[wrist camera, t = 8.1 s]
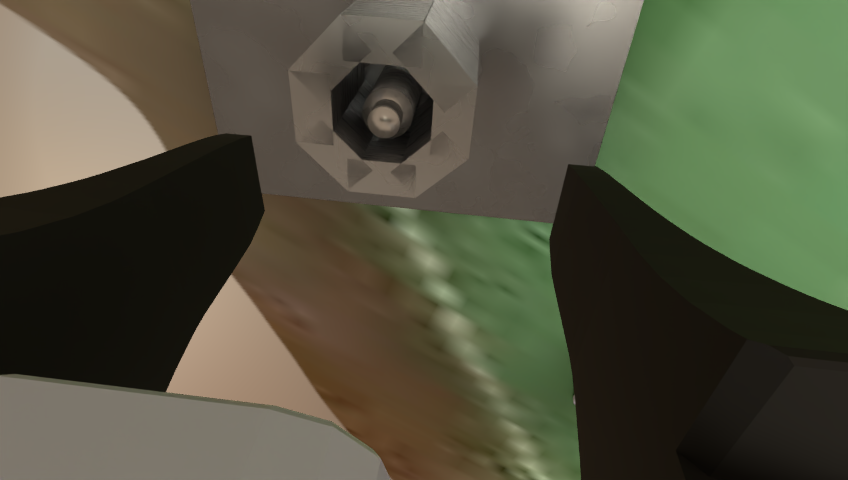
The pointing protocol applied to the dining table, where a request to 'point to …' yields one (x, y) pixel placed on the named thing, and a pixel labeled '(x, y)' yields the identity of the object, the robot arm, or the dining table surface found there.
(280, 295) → the dining table surface
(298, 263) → the dining table surface
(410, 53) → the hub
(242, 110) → the shaft block
